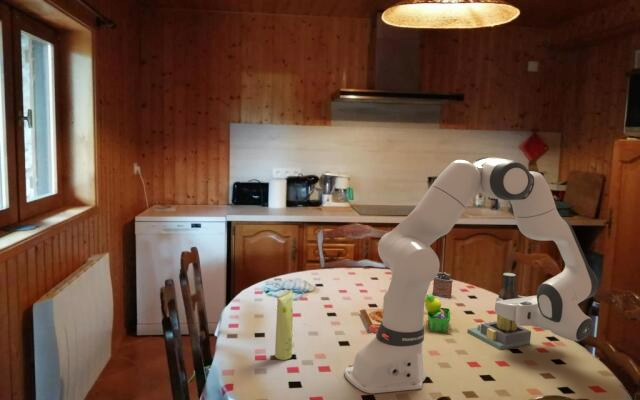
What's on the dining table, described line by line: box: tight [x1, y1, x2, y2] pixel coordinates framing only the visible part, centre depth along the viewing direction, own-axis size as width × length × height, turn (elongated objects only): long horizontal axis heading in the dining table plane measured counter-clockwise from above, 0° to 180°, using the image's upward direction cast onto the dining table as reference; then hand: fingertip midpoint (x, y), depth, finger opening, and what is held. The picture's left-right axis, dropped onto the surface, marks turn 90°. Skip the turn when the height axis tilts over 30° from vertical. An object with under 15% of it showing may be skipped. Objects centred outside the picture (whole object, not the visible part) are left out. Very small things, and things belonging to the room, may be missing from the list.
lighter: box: [431, 271, 454, 299], centre depth 220 cm, size 8×3×10 cm, turn 58°
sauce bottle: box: [496, 272, 518, 333], centre depth 175 cm, size 6×6×20 cm
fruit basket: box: [424, 294, 452, 333], centre depth 185 cm, size 11×9×11 cm
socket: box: [480, 320, 532, 345], centre depth 176 cm, size 12×11×3 cm
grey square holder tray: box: [467, 320, 531, 350], centre depth 177 cm, size 13×15×3 cm
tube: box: [274, 289, 293, 361], centre depth 155 cm, size 6×5×20 cm
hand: (506, 298), depth 175 cm, fingers closed on sauce bottle, 6 cm apart
